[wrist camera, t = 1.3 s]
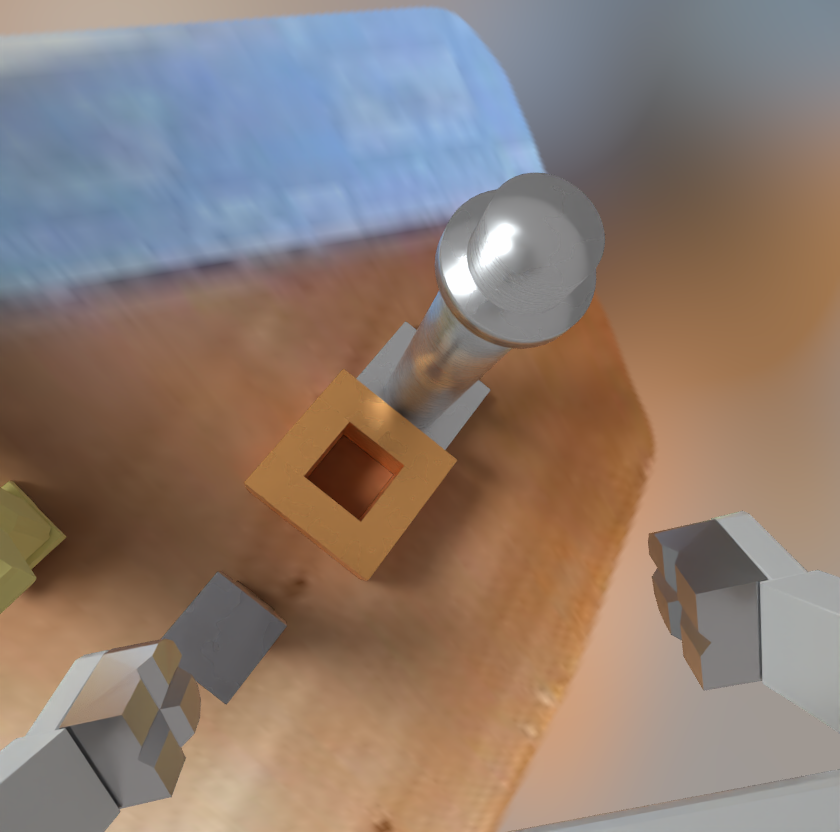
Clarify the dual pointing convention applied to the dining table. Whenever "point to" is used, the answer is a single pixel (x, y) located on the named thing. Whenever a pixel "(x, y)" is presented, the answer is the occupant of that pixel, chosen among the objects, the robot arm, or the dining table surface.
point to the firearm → (21, 542)
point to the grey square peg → (224, 635)
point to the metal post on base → (440, 363)
